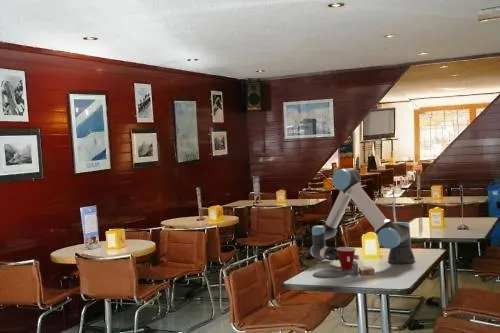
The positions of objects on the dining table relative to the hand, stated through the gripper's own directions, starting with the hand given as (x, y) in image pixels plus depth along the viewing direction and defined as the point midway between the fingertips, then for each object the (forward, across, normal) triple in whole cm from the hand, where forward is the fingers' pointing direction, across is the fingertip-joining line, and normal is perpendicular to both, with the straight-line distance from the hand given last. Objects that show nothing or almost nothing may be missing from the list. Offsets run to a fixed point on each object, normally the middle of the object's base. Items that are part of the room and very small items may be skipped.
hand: (353, 258), depth 311 cm
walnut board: (+11, 0, +7) cm, 13 cm away
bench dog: (+7, -5, +6) cm, 11 cm away
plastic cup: (-5, -1, +7) cm, 8 cm away
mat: (-1, -17, +6) cm, 18 cm away
